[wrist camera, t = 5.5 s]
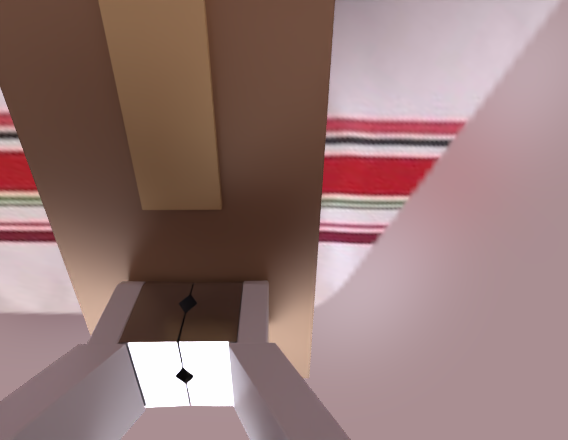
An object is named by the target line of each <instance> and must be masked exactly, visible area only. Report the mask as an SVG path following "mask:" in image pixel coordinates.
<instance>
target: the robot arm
mask: <svg viewBox="0 0 568 440" xmlns="http://www.w3.org/2000/svg"><path fill="white" fill-rule="evenodd" d="M190 401H191V405H193V406H234V407H235V410H236V412H237V414H238V416H239V418H240V421H241V423H242V425H243V426H244V429H245V430H246V433H247V434H248V437H249V439H250V440H350V438H349V437H348V436H347V434H346V433H345V432H344V430H343V429H342V428H341V427H340V425H339V424H338V423H337V421H336V420H335V419H334V418H333V416H332V415H331V414H330V412H329V411H328V410H327V409H326V407H325V406H324V405H323V403H322V402H321V401H320V400H319V398H318V397H317V396H316V394H315V393H314V392H313V391H312V389H311V388H310V387H309V386H308V384H307V383H306V382H305V380H304V379H303V378H302V376H301V375H300V374H299V373H298V371H297V370H296V369H295V367H294V366H293V365H292V364H291V362H290V361H289V360H288V358H287V357H286V356H285V355H284V353H283V352H282V351H281V349H280V348H279V347H278V346H277V344H276V343H269V282H268V281H267V280H263V281H235V282H196V283H195V282H167V281H147V282H140V281H122V282H120V283H119V284H118V285H117V286H116V288H115V290H114V291H113V293H112V295H111V297H110V299H109V301H108V303H107V305H106V307H105V309H104V311H103V313H102V315H101V317H100V319H99V321H98V323H97V325H96V327H95V329H94V331H93V333H92V335H91V336H90V338H89V340H88V342H87V344H79V345H77V346H76V347H74V348H73V349H71V350H70V351H69V352H67V353H66V354H65V355H63V356H62V357H60V358H59V359H58V360H56V361H55V362H54V363H52V364H51V365H49V366H48V367H47V368H45V369H44V370H43V371H41V372H40V373H38V374H37V375H36V376H34V377H33V378H31V379H30V380H29V381H27V382H26V383H25V384H23V385H22V386H20V387H19V388H18V389H16V390H15V391H14V392H12V393H11V394H10V395H8V396H7V397H5V398H4V399H3V400H2V401H0V440H121V438H122V437H123V436H124V435H125V434H126V433H127V431H128V430H129V429H130V428H131V427H132V425H133V424H134V423H135V422H136V421H137V420H138V418H139V417H140V416H141V415H142V413H143V412H144V411H145V407H164V406H189V405H190Z"/></svg>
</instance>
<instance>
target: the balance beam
mask: <svg viewBox="0 0 568 440" xmlns="http://www.w3.org/2000/svg"><path fill="white" fill-rule="evenodd" d="M334 6H335V0H0V87H1V90H2V93H3V96H4V98H5V101H6V104H7V107H8V109H9V112H10V115H11V118H12V120H13V123H14V126H15V129H16V131H17V134H18V137H19V140H20V142H21V145H22V148H23V151H24V153H25V156H26V159H27V162H28V164H29V167H30V170H31V173H32V175H33V178H34V181H35V184H36V186H37V189H38V192H39V195H40V197H41V200H42V203H43V206H44V208H45V211H46V214H47V217H48V219H49V222H50V225H51V228H52V230H53V233H54V236H55V239H56V241H57V244H58V247H59V250H60V252H61V255H62V258H63V261H64V263H65V266H66V269H67V272H68V274H69V277H70V280H71V283H72V285H73V288H74V291H75V294H76V296H77V299H78V302H79V305H80V307H81V310H82V313H83V316H84V318H85V321H86V324H87V327H88V329H89V332H90V335H92V333H93V331H94V329H95V327H96V325H97V323H98V321H99V319H100V317H101V315H102V313H103V311H104V309H105V307H106V305H107V303H108V301H109V299H110V297H111V295H112V293H113V291H114V290H115V288H116V286H117V285H118V284H119V283H120V282H122V281H140V282H147V281H167V282H195V283H196V282H235V281H263V280H267V281H268V282H269V343H276V344H277V346H278V347H279V348H280V349H281V351H282V352H283V353H284V355H285V356H286V357H287V358H288V360H289V361H290V362H291V364H292V365H293V366H294V367H295V369H296V370H297V371H298V373H299V374H300V375H301V376H302V378H309V371H310V357H311V342H312V328H313V313H314V299H315V284H316V269H317V255H318V240H319V225H320V211H321V196H322V182H323V167H324V152H325V138H326V123H327V109H328V94H329V79H330V65H331V50H332V36H333V21H334Z"/></svg>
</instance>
